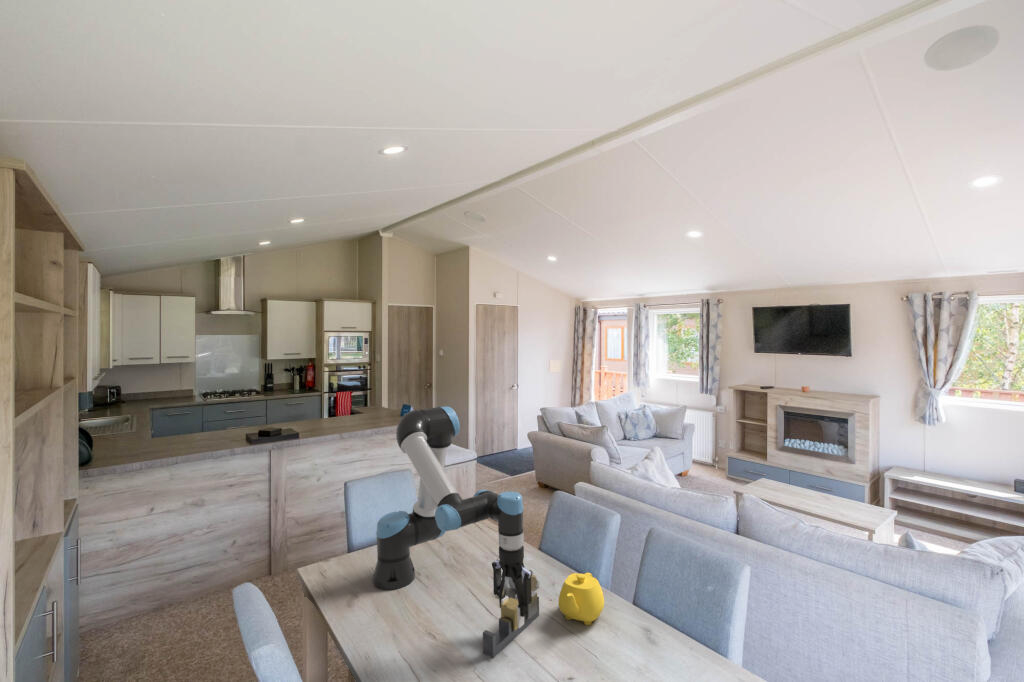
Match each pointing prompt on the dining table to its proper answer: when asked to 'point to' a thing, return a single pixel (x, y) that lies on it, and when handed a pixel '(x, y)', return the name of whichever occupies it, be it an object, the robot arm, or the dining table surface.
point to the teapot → (581, 598)
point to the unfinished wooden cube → (510, 611)
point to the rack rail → (504, 634)
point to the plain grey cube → (531, 605)
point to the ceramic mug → (533, 581)
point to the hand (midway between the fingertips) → (512, 622)
